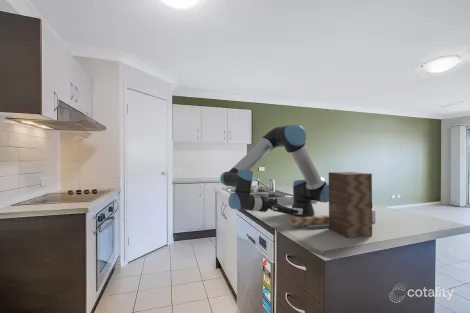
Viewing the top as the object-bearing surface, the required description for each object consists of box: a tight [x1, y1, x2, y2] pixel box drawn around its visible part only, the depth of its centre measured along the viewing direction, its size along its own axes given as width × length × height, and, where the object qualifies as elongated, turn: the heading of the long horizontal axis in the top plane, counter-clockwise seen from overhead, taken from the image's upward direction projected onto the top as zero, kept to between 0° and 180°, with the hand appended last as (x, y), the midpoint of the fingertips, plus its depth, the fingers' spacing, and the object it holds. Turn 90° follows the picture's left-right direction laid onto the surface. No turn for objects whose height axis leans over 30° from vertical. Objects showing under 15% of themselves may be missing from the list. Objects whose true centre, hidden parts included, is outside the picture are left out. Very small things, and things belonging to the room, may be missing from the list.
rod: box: [290, 214, 329, 227], centre depth 129 cm, size 26×4×4 cm, turn 101°
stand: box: [328, 171, 373, 239], centre depth 118 cm, size 14×14×30 cm
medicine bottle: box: [372, 208, 376, 224], centre depth 138 cm, size 7×7×12 cm
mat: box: [302, 224, 329, 230], centre depth 129 cm, size 14×10×2 cm
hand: (294, 207), depth 124 cm, fingers open, 13 cm apart
